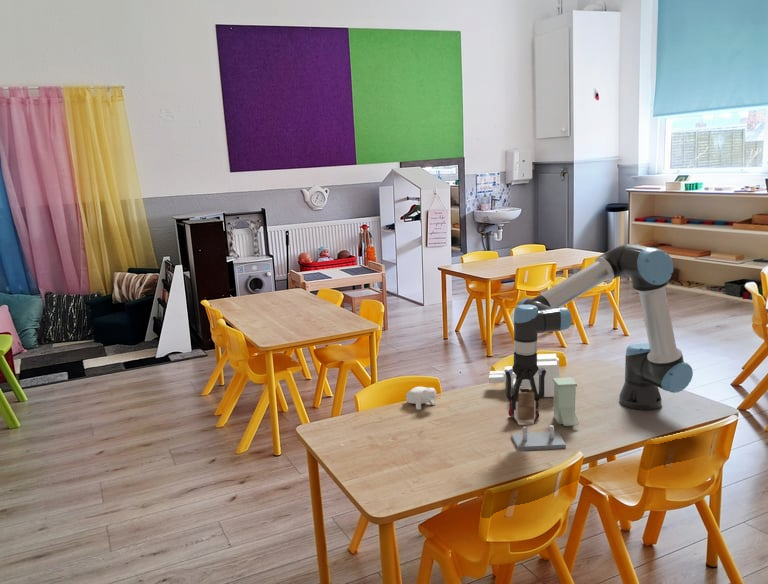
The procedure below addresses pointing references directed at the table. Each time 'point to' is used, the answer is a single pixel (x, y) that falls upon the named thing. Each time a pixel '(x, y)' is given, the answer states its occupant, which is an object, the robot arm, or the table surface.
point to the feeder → (565, 401)
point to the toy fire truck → (511, 412)
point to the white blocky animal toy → (421, 396)
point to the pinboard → (538, 440)
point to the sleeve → (525, 406)
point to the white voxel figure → (543, 361)
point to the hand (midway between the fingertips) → (524, 417)
